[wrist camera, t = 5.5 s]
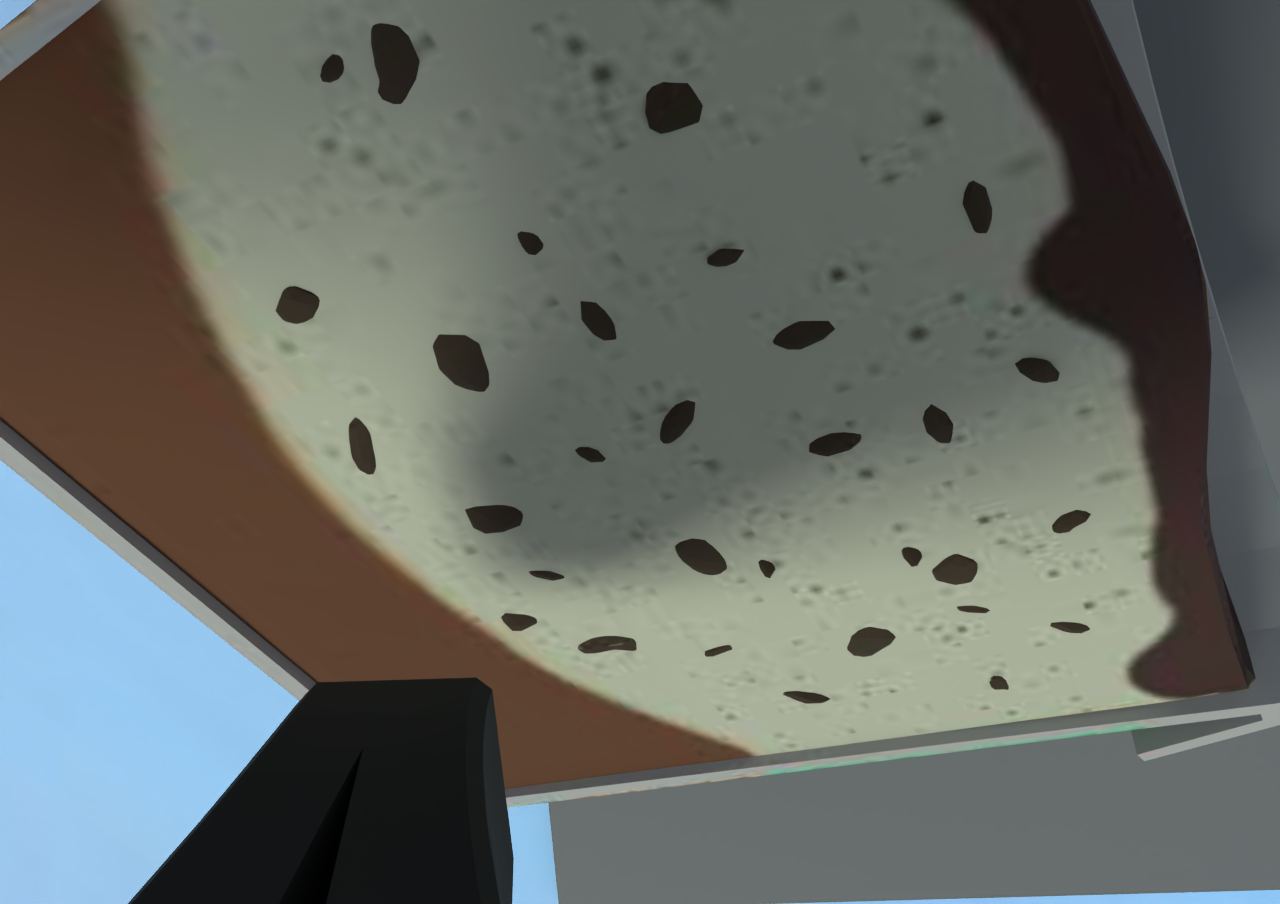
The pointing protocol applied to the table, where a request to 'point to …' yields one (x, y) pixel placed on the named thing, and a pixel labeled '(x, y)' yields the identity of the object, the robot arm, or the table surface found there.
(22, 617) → the table surface
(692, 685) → the food container
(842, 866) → the mat
